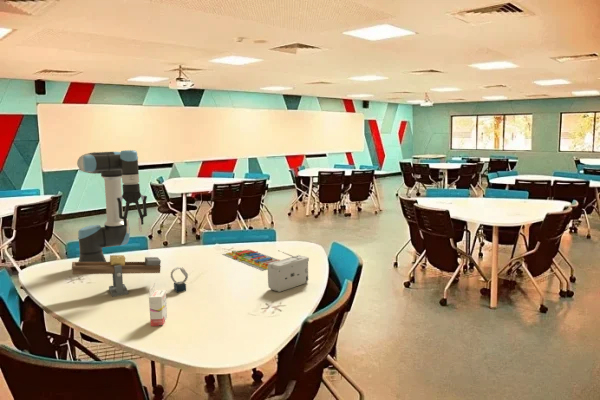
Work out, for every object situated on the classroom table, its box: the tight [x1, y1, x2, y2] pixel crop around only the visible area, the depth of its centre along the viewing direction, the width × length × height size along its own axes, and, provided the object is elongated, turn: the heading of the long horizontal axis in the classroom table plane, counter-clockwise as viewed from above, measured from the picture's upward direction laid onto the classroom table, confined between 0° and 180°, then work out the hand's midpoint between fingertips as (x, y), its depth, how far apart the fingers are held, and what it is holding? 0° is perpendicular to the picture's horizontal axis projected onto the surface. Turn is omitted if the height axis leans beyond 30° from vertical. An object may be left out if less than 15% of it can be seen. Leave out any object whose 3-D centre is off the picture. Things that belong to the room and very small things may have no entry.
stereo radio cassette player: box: [267, 250, 310, 293], centre depth 221 cm, size 21×8×20 cm, turn 135°
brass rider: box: [109, 254, 126, 266], centre depth 217 cm, size 6×6×5 cm
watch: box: [170, 266, 189, 293], centre depth 219 cm, size 6×8×11 cm
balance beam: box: [71, 256, 162, 275], centre depth 217 cm, size 9×38×6 cm, turn 119°
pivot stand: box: [108, 265, 129, 298], centre depth 218 cm, size 13×7×14 cm, turn 29°
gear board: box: [222, 248, 280, 272], centre depth 271 cm, size 45×2×19 cm
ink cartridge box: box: [148, 283, 168, 327], centre depth 181 cm, size 9×5×15 cm, turn 5°
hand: (134, 232), depth 219 cm, fingers open, 5 cm apart
